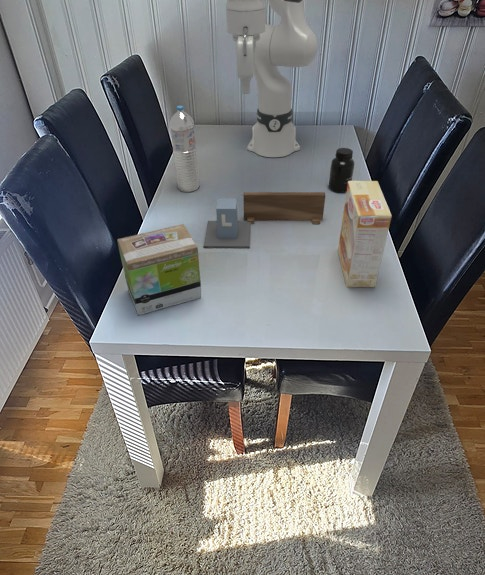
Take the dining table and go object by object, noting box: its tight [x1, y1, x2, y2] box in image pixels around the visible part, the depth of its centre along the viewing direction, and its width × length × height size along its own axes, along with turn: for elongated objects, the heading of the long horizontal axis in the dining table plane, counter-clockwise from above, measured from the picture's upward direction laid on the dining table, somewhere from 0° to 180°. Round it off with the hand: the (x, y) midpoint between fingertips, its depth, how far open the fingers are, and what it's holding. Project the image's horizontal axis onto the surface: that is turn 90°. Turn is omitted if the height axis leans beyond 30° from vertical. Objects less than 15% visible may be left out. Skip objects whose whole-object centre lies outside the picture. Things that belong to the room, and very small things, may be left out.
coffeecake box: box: [337, 180, 393, 288], centre depth 102 cm, size 15×7×20 cm, turn 178°
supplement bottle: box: [328, 147, 355, 194], centre depth 134 cm, size 7×7×12 cm
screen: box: [242, 191, 327, 225], centre depth 123 cm, size 5×22×8 cm, turn 88°
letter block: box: [215, 198, 239, 238], centre depth 117 cm, size 5×5×9 cm
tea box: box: [117, 223, 202, 316], centre depth 98 cm, size 15×10×15 cm, turn 114°
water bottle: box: [169, 104, 200, 193], centre depth 132 cm, size 7×7×25 cm
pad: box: [203, 220, 252, 249], centre depth 120 cm, size 12×12×1 cm
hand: (246, 86), depth 110 cm, fingers open, 8 cm apart
